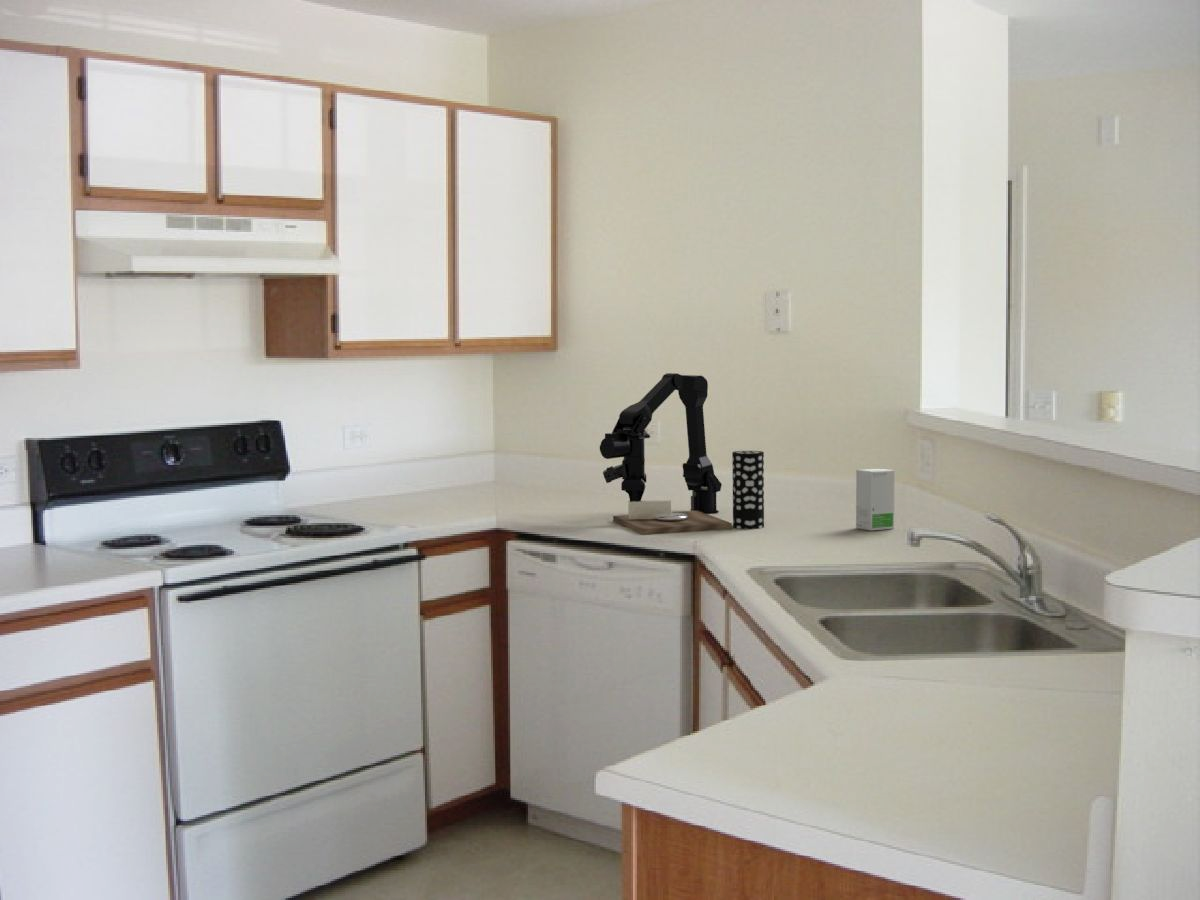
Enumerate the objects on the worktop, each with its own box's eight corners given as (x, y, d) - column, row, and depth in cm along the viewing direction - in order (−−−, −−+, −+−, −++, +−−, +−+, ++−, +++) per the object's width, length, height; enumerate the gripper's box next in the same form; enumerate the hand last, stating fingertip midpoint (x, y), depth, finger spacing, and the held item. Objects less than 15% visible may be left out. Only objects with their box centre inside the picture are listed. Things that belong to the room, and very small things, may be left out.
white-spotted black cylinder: (746, 523, 357) (745, 450, 355) (770, 526, 351) (770, 451, 349) (726, 526, 351) (725, 452, 349) (750, 530, 346) (750, 454, 344)
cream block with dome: (686, 515, 361) (686, 498, 360) (688, 520, 352) (688, 502, 351) (628, 516, 361) (628, 499, 361) (628, 521, 352) (628, 503, 352)
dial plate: (697, 515, 372) (696, 510, 372) (731, 528, 348) (731, 522, 348) (613, 521, 365) (613, 515, 365) (642, 534, 341) (642, 528, 341)
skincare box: (870, 531, 340) (870, 471, 338) (854, 528, 346) (854, 469, 344) (895, 528, 344) (895, 469, 342) (879, 525, 350) (879, 467, 348)
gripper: (606, 451, 367) (607, 506, 369) (602, 459, 349) (603, 517, 351) (646, 451, 367) (646, 506, 368) (644, 459, 348) (644, 517, 350)
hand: (634, 512), depth 359 cm, fingers closed
